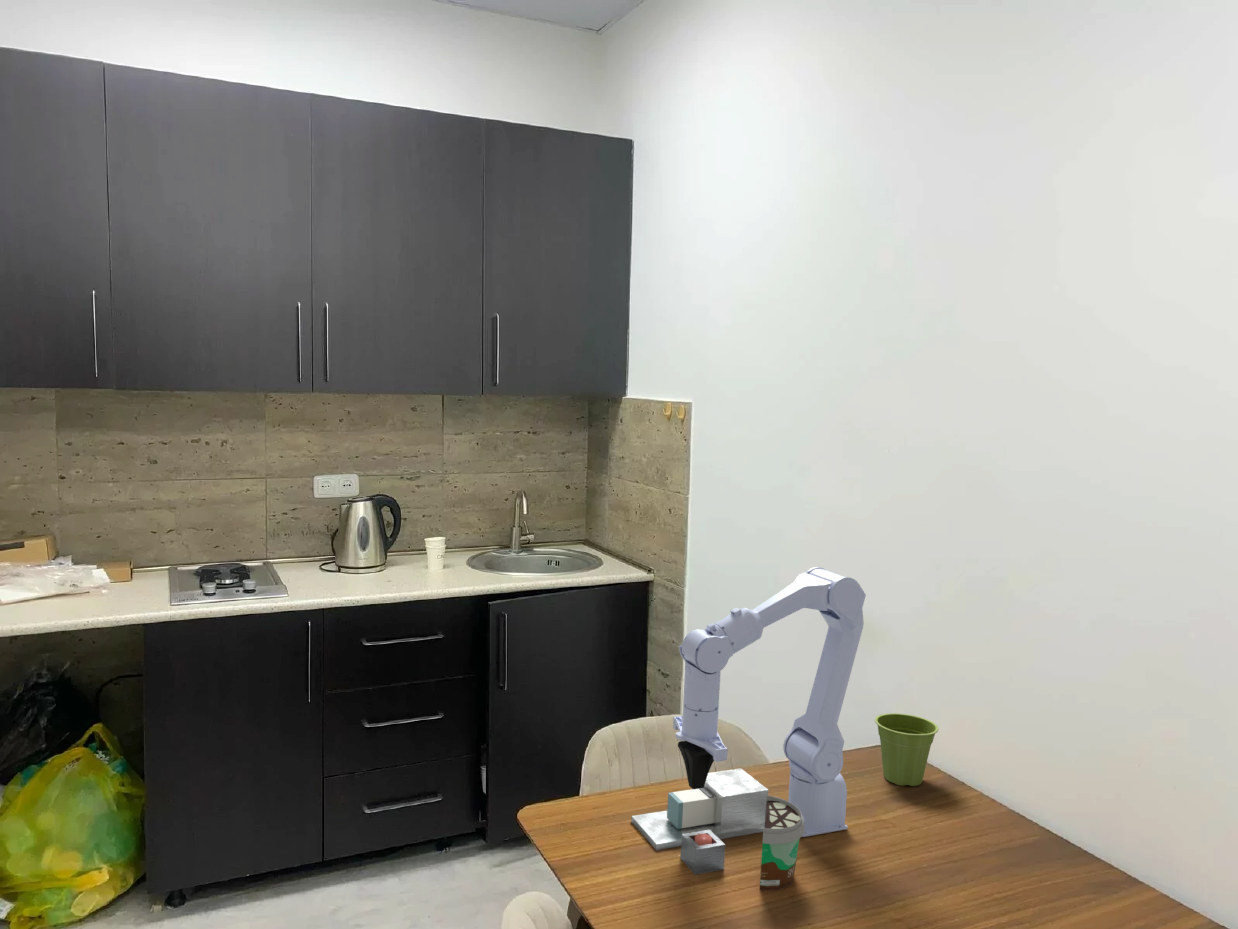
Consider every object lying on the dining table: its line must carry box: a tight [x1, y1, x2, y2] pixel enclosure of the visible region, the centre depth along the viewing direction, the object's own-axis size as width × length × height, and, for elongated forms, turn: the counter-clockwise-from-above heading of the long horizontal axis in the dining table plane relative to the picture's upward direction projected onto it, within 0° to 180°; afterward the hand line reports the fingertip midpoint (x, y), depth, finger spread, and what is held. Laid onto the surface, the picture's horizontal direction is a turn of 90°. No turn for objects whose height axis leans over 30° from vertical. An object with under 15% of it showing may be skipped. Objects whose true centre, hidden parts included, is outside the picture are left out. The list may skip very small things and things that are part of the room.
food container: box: [759, 794, 805, 891], centre depth 137 cm, size 12×6×10 cm, turn 168°
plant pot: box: [874, 712, 939, 787], centre depth 175 cm, size 12×12×11 cm
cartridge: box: [666, 787, 717, 829], centre depth 153 cm, size 14×4×5 cm, turn 113°
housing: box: [630, 767, 769, 851], centre depth 152 cm, size 21×10×7 cm, turn 113°
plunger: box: [695, 834, 712, 846], centre depth 140 cm, size 3×3×4 cm
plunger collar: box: [679, 830, 726, 876], centre depth 140 cm, size 5×5×4 cm
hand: (696, 787), depth 146 cm, fingers closed
